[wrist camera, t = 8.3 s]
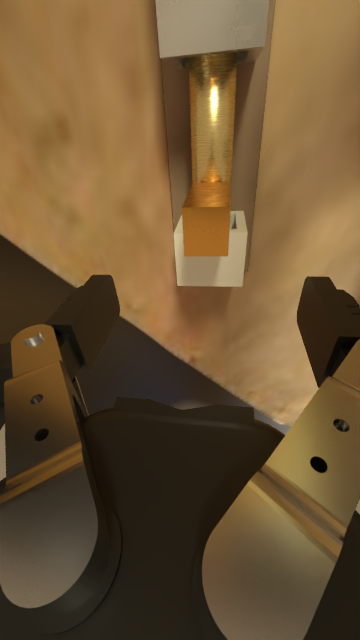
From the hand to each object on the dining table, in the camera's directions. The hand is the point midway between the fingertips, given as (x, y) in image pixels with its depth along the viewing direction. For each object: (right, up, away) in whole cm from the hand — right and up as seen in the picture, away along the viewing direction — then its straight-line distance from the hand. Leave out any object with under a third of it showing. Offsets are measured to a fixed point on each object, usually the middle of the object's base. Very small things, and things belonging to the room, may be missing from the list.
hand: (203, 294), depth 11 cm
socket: (+2, +8, +17) cm, 18 cm away
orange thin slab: (+2, +13, +11) cm, 17 cm away
